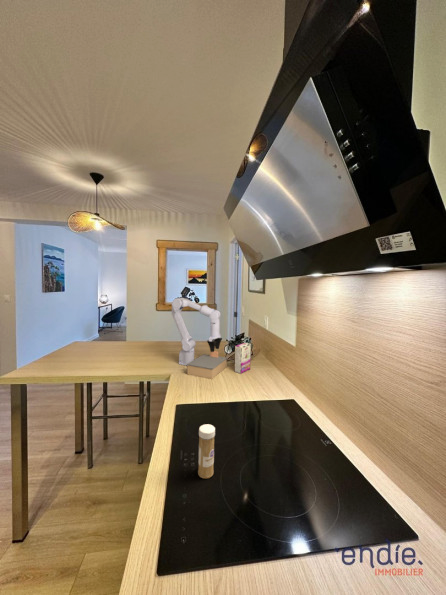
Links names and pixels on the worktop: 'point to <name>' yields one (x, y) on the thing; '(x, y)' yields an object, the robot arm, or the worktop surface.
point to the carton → (206, 370)
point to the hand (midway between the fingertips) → (214, 350)
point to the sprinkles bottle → (206, 450)
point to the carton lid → (208, 360)
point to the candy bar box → (242, 357)
